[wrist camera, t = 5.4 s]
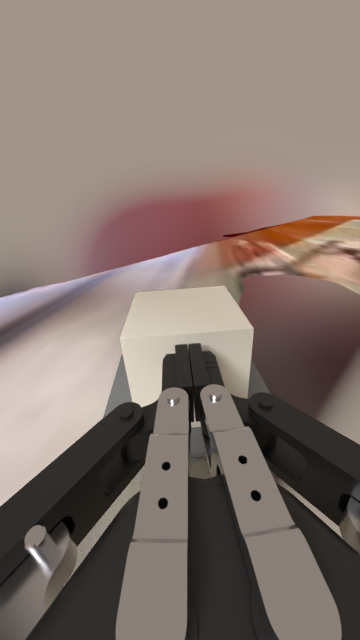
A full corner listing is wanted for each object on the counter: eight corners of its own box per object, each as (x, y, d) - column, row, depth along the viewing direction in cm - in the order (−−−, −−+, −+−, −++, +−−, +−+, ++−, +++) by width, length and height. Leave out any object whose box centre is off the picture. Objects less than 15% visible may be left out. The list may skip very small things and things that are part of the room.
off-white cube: (245, 422, 18) (253, 328, 14) (138, 431, 18) (119, 338, 14) (222, 359, 25) (224, 285, 21) (146, 365, 25) (135, 292, 21)
